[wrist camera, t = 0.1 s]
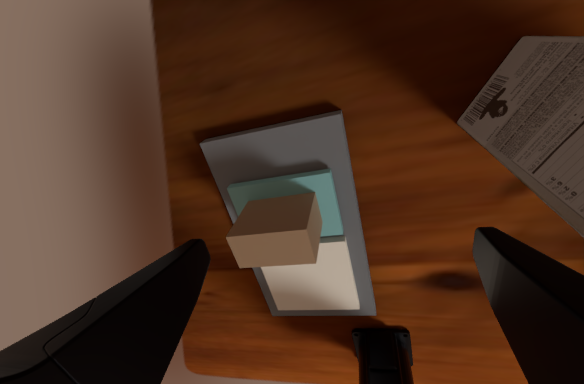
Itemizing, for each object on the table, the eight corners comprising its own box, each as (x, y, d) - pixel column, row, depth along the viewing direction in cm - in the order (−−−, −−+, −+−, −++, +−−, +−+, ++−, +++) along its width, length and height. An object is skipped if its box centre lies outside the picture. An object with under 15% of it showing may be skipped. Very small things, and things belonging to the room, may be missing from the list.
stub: (343, 228, 25) (341, 278, 20) (251, 237, 27) (229, 282, 22) (330, 168, 22) (324, 207, 17) (230, 184, 25) (199, 222, 20)
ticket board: (375, 306, 31) (376, 322, 29) (275, 307, 34) (270, 321, 32) (341, 109, 21) (340, 116, 19) (205, 139, 24) (194, 147, 23)
